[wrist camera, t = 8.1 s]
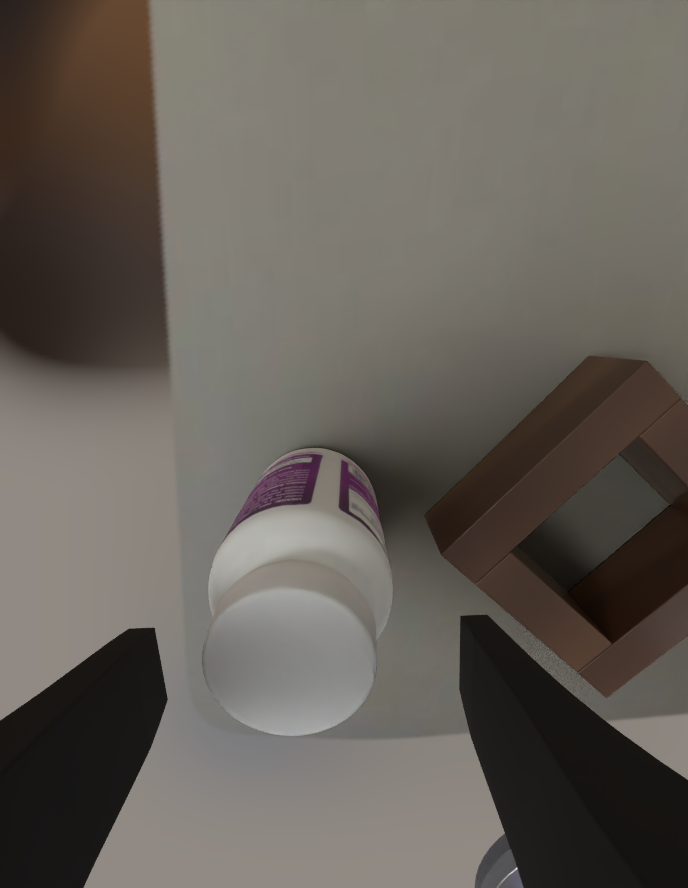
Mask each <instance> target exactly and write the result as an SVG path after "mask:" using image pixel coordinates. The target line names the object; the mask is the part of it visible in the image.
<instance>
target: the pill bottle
mask: <svg viewBox="0 0 688 888" xmlns="http://www.w3.org/2000/svg"><path fill="white" fill-rule="evenodd" d="M208 592H209V603H210V608H211V612H212V616H213V620H212V622H211V625H210V628H209V630H208V633H207V635H206V639H205V642H204V646H203V652H202V666H203V673H204V677H205V680H206V683H207V686H208V688H209V690H210V691H211V693H212V695H213V696H214V698H215V700H216V701H217V702H218V703H219V705H220V706H221V707H222V708H223V709H224V710H225V711H227V712H228V713H229V714H230V715H231V716H232V717H234V718H235V719H237V720H239V721H240V722H242V723H244V724H246V725H247V726H249V727H251V728H254V729H257V730H260V731H263V732H267V733H270V734H275V735H286V736H296V735H306V734H312V733H317V732H321V731H323V730H326V729H329V728H331V727H334V726H336V725H338V724H339V723H341V722H342V721H344V720H346V719H347V718H349V717H350V716H351V715H352V714H353V713H354V712H355V711H356V710H357V709H358V708H359V707H360V706H361V705H362V704H363V702H364V701H365V699H366V698H367V697H368V694H369V692H370V690H371V688H372V686H373V684H374V680H375V676H376V669H377V649H376V641H377V640H378V638H379V637H380V635H381V633H382V632H383V630H384V628H385V626H386V623H387V621H388V618H389V615H390V611H391V606H392V599H393V583H392V574H391V567H390V563H389V560H388V555H387V550H386V546H385V540H384V534H383V530H382V525H381V520H380V516H379V510H378V505H377V500H376V496H375V493H374V490H373V487H372V485H371V483H370V481H369V479H368V477H367V476H366V474H365V473H364V472H363V471H362V470H361V468H360V467H359V466H358V465H356V464H355V463H354V462H353V461H352V460H350V459H349V458H347V457H346V456H344V455H342V454H340V453H337V452H335V451H331V450H328V449H322V448H306V449H300V450H295V451H292V452H290V453H288V454H286V455H283V456H282V457H280V458H279V459H277V460H276V461H275V462H273V463H272V464H271V465H270V466H269V467H268V468H267V469H266V471H265V472H264V473H263V475H262V476H261V477H260V479H259V480H258V482H257V484H256V485H255V487H254V489H253V490H252V492H251V494H250V495H249V497H248V499H247V501H246V502H245V504H244V506H243V507H242V509H241V511H240V513H239V514H238V516H237V518H236V519H235V521H234V523H233V525H232V527H231V528H230V530H229V532H228V534H227V536H226V537H225V539H224V540H223V542H222V544H221V546H220V547H219V550H218V552H217V554H216V556H215V559H214V562H213V565H212V568H211V572H210V577H209V587H208Z"/></svg>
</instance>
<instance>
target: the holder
mask: <svg viewBox="0 0 688 888" xmlns="http://www.w3.org/2000/svg"><path fill="white" fill-rule="evenodd" d="M618 454H620V455H621V456H622V457H623V458H624V459H625V460H626V461H627V462H628V463H629V464H630V465H631V466H632V467H633V468H634V469H635V470H636V471H637V472H638V473H639V474H640V475H641V476H642V477H643V478H644V479H645V480H646V481H647V482H648V483H649V484H650V485H651V486H652V487H653V488H654V489H655V490H656V491H657V492H658V493H659V494H660V495H661V496H662V497H663V498H664V499H665V500H666V501H667V502H668V503H669V504H670V505H671V506H669V507H668V508H667V509H666V510H665V511H663V512H662V513H661V514H660V515H659V516H658V517H656V518H655V519H654V520H653V521H652V522H651V523H649V524H648V525H647V526H646V527H645V528H643V529H642V530H641V531H640V532H639V533H638V534H636V535H635V536H634V537H633V538H632V539H631V540H629V541H628V542H627V543H626V544H625V545H623V546H622V547H621V548H620V549H619V550H618V551H616V552H615V553H614V554H613V555H612V556H610V557H609V558H608V559H607V560H606V561H605V562H603V563H602V564H601V565H600V566H599V567H598V568H596V569H595V570H594V571H593V572H592V573H590V574H589V575H588V576H587V577H586V578H585V579H583V580H582V581H581V582H580V583H579V584H578V585H576V586H575V587H574V588H573V589H572V590H570V591H569V592H568V591H566V590H565V589H564V588H563V587H562V586H561V585H560V584H559V583H558V582H557V581H555V580H554V579H553V578H552V577H551V576H550V575H549V574H548V573H547V572H546V571H544V570H543V569H542V568H541V567H540V566H539V565H538V564H537V563H536V562H534V561H533V560H532V559H531V558H530V557H529V556H528V555H527V554H526V553H525V552H523V551H522V550H521V549H520V548H519V547H518V546H517V545H518V544H519V543H520V542H521V541H523V540H524V539H525V538H526V537H527V536H528V535H529V534H530V533H531V532H533V531H534V530H535V529H536V528H537V527H538V526H539V525H540V524H541V523H543V522H544V521H545V520H546V519H547V518H548V517H549V516H550V515H551V514H553V513H554V512H555V511H556V510H557V509H558V508H559V507H560V506H561V505H562V504H564V503H565V502H566V501H567V500H568V499H569V498H570V497H571V496H572V495H574V494H575V493H576V492H577V491H578V490H579V489H580V488H581V487H582V486H584V485H585V484H586V483H587V482H588V481H589V480H590V479H591V478H592V477H594V476H595V475H596V474H597V473H598V472H599V471H600V470H601V469H602V468H604V467H605V466H606V465H607V464H608V463H609V462H610V461H611V460H612V459H613V458H615V457H616V456H617V455H618ZM425 518H426V521H427V523H428V525H429V528H430V530H431V532H432V535H433V537H434V539H435V542H436V544H437V546H438V549H439V551H440V553H441V555H442V556H443V557H444V558H445V559H446V560H447V561H449V562H450V563H451V564H452V565H453V566H454V567H456V568H457V569H458V570H459V571H460V572H461V573H462V574H464V575H465V576H466V577H467V578H468V579H469V580H471V581H472V582H473V583H475V584H476V585H477V586H478V587H479V588H480V589H481V590H482V591H483V592H485V593H486V594H487V595H488V596H489V597H490V598H492V599H493V600H494V601H495V602H496V603H497V604H498V605H500V606H501V607H502V608H503V609H504V610H505V611H507V612H508V613H509V614H510V615H511V616H512V617H513V618H515V619H516V620H517V621H518V622H519V623H520V624H522V625H523V626H524V627H525V628H526V629H527V630H529V631H530V632H531V633H532V634H533V635H534V636H535V637H537V638H538V639H539V640H540V641H541V642H542V643H544V644H545V645H546V646H547V647H548V648H549V649H550V650H552V651H553V652H554V653H555V654H556V655H557V656H559V657H560V658H561V659H562V660H563V661H564V662H565V663H567V664H568V665H569V666H570V667H571V668H572V669H574V670H575V671H576V672H577V673H578V674H579V675H580V676H581V677H583V678H584V679H585V680H586V681H587V682H588V683H590V684H591V685H592V686H593V687H594V688H595V689H596V690H598V691H599V692H600V693H601V694H602V695H603V696H605V697H606V698H607V697H609V696H610V695H611V694H613V693H614V692H615V691H616V690H618V689H619V688H620V687H622V686H623V685H624V684H625V683H627V682H628V681H629V680H631V679H632V678H633V677H635V676H636V675H637V674H638V673H640V672H641V671H642V670H644V669H645V668H646V667H647V666H649V665H650V664H651V663H653V662H654V661H655V660H657V659H658V658H659V657H660V656H662V655H663V654H664V653H666V652H667V651H668V650H669V649H671V648H672V647H673V646H675V645H676V644H677V643H679V642H680V641H681V640H682V639H684V638H685V637H686V636H688V405H687V404H686V403H685V402H684V401H683V400H682V399H680V396H679V395H678V394H677V393H676V392H675V390H674V389H673V388H672V387H671V386H670V385H669V384H668V383H667V382H666V381H665V380H664V379H663V377H662V376H661V375H660V374H659V373H658V372H657V371H656V370H655V369H654V368H653V367H652V366H651V364H650V363H649V362H648V361H641V360H629V359H617V358H605V357H594V356H589V357H588V358H587V359H585V360H584V361H583V362H582V363H581V364H580V365H579V366H578V367H577V368H576V369H575V370H574V371H573V372H572V373H571V374H570V375H569V376H568V377H567V378H566V379H565V380H564V381H563V382H562V383H561V384H560V385H559V386H558V387H557V388H556V389H555V390H554V391H553V392H552V393H551V394H549V395H548V396H547V397H546V398H545V399H544V400H543V401H542V402H541V403H540V404H539V405H538V406H537V407H536V408H535V409H534V410H533V411H532V412H531V413H530V414H529V415H528V416H527V417H526V418H525V419H524V420H523V421H522V422H521V423H520V424H519V425H518V426H517V427H516V428H515V429H513V430H512V431H511V432H510V433H509V434H508V435H507V436H506V437H505V438H504V439H503V440H502V441H501V442H500V443H499V444H498V445H497V446H496V447H495V448H494V449H493V450H492V451H491V452H490V453H489V454H488V455H487V456H486V457H485V458H484V459H483V460H482V461H481V462H480V463H479V464H477V465H476V466H475V467H474V468H473V469H472V470H471V471H470V472H469V473H468V474H467V475H466V476H465V477H464V478H463V479H462V480H461V481H460V482H459V483H458V484H457V485H456V486H455V487H454V488H453V489H452V490H451V491H450V492H449V493H448V494H447V495H446V496H445V497H444V498H442V499H441V500H440V501H439V502H438V503H437V504H436V505H435V506H434V507H433V508H432V509H431V510H430V511H429V512H428V513H427V514H426V515H425Z"/></svg>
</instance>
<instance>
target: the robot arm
mask: <svg viewBox="0 0 688 888" xmlns="http://www.w3.org/2000/svg"><path fill="white" fill-rule="evenodd" d="M459 690H460V694H461V698H462V702H463V707H464V711H465V715H466V719H467V723H468V727H469V731H470V735H471V738H472V741H473V744H474V747H475V750H476V753H477V756H478V758H479V761H480V764H481V767H482V770H483V773H484V775H485V778H486V781H487V784H488V786H489V789H490V792H491V795H492V798H493V801H494V803H495V806H496V809H497V812H498V815H499V818H500V820H501V823H502V826H503V828H504V831H505V834H506V837H507V840H508V843H509V845H510V848H511V851H512V854H513V857H514V860H515V863H516V866H517V869H518V872H519V875H520V878H521V881H522V885H523V888H688V780H687V779H686V778H684V777H683V776H681V775H680V774H678V773H677V772H675V771H674V770H672V769H671V768H669V767H668V766H666V765H665V764H663V763H662V762H660V761H659V760H657V759H656V758H655V757H653V756H652V755H651V754H649V753H648V752H646V751H645V750H644V749H642V748H641V747H639V746H638V745H637V744H635V743H634V742H632V741H631V740H630V739H628V738H627V737H626V736H624V735H623V734H622V733H620V732H619V731H618V730H616V729H615V728H614V727H612V726H611V725H610V724H608V723H607V722H606V721H605V720H603V719H602V718H601V717H600V716H598V715H597V714H596V713H595V712H593V711H592V710H591V709H590V708H589V707H587V706H586V705H585V704H584V703H582V702H581V701H580V700H579V699H578V698H576V697H575V696H574V695H573V694H571V693H570V692H569V691H568V690H567V689H566V688H565V687H563V686H562V685H561V684H560V683H559V682H558V681H557V680H555V679H554V678H553V677H552V676H551V675H550V674H549V673H548V672H547V671H545V670H544V669H543V668H542V667H541V666H540V665H539V664H538V663H537V662H536V661H535V660H534V659H532V658H531V657H530V656H529V655H528V654H527V653H526V652H525V651H524V650H523V649H522V648H521V647H520V646H519V645H518V644H517V643H516V642H515V641H514V640H513V639H512V638H511V637H510V636H508V635H507V634H506V633H505V632H504V631H503V630H502V629H501V628H500V627H499V626H498V625H497V624H496V623H495V622H494V621H493V620H492V619H491V618H490V617H489V616H488V615H469V616H461V622H460V687H459ZM167 700H168V699H167V693H166V688H165V683H164V677H163V672H162V666H161V661H160V655H159V650H158V644H157V639H156V633H155V628H136V629H128V630H127V631H125V632H124V633H122V634H120V635H119V636H117V637H116V638H115V639H113V640H112V641H110V642H109V643H107V644H106V645H105V646H103V647H102V648H101V649H99V650H98V651H97V652H95V653H94V654H92V655H91V656H90V657H88V658H87V659H86V660H85V661H83V662H82V663H80V664H79V665H78V666H76V667H75V668H74V669H72V670H71V671H69V672H68V673H67V674H65V675H64V676H63V677H61V678H60V679H59V680H57V681H56V682H55V683H53V684H52V685H50V686H49V687H48V688H46V689H45V690H44V691H42V692H41V693H40V694H38V695H37V696H35V697H34V698H32V699H31V700H30V701H28V702H27V703H25V704H24V705H22V706H21V707H19V708H18V709H16V710H15V711H14V712H12V713H11V714H9V715H8V716H6V717H5V718H4V719H2V720H1V721H0V888H83V887H84V885H85V883H86V881H87V879H88V876H89V874H90V872H91V870H92V868H93V866H94V864H95V861H96V859H97V857H98V855H99V853H100V851H101V849H102V847H103V845H104V843H105V841H106V839H107V837H108V835H109V832H110V831H111V829H112V827H113V825H114V823H115V821H116V819H117V816H118V814H119V812H120V810H121V808H122V806H123V804H124V802H125V800H126V798H127V796H128V794H129V792H130V790H131V788H132V786H133V784H134V782H135V780H136V777H137V775H138V773H139V771H140V769H141V767H142V765H143V763H144V761H145V759H146V756H147V754H148V752H149V750H150V748H151V745H152V743H153V740H154V737H155V734H156V732H157V729H158V727H159V724H160V721H161V717H162V715H163V712H164V709H165V706H166V703H167Z"/></svg>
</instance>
